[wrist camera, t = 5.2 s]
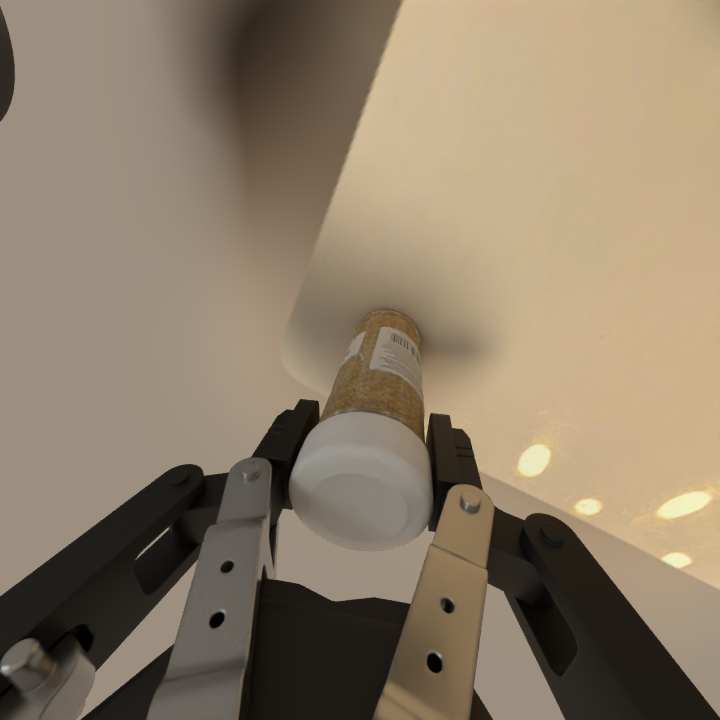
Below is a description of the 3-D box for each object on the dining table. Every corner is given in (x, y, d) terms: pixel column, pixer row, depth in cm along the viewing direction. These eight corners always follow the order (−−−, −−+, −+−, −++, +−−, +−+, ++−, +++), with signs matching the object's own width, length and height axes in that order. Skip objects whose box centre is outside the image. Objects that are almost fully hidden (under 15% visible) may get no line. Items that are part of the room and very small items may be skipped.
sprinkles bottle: (342, 324, 21) (255, 474, 9) (404, 296, 20) (395, 430, 8) (372, 379, 23) (329, 568, 11) (431, 356, 21) (458, 545, 9)
